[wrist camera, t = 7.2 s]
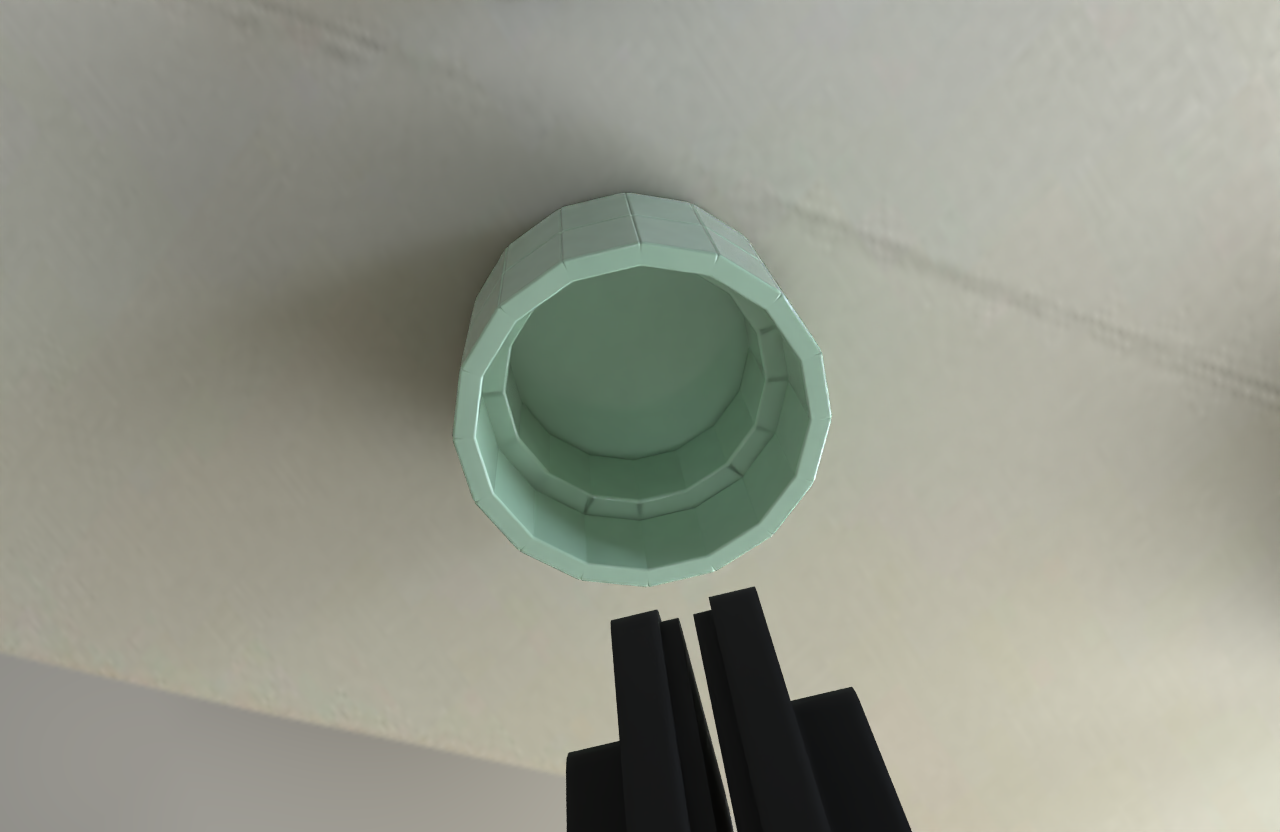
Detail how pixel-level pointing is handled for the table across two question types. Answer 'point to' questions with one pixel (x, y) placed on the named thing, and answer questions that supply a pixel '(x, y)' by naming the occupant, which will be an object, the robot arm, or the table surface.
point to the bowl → (637, 394)
